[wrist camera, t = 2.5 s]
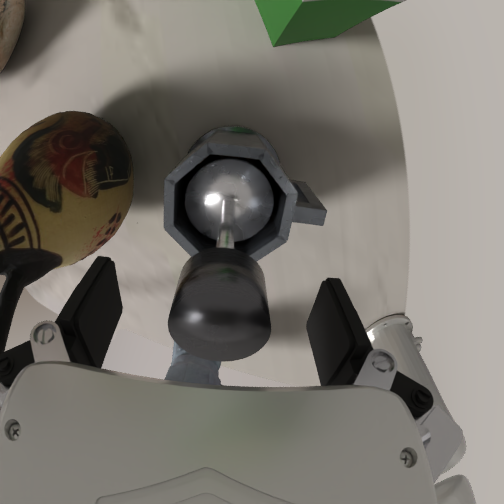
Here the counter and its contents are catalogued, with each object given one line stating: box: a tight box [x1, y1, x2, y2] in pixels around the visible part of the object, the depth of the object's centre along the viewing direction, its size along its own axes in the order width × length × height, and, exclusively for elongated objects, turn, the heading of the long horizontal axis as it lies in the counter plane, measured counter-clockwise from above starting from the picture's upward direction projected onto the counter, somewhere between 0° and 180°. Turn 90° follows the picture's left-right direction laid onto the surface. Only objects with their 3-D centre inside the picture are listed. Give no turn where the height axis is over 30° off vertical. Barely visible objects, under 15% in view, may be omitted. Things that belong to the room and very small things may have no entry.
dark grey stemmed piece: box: [168, 158, 273, 361], centre depth 16 cm, size 7×7×14 cm
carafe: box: [164, 126, 327, 261], centre depth 26 cm, size 14×11×12 cm
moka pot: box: [164, 341, 223, 386], centre depth 36 cm, size 10×15×20 cm, turn 50°
